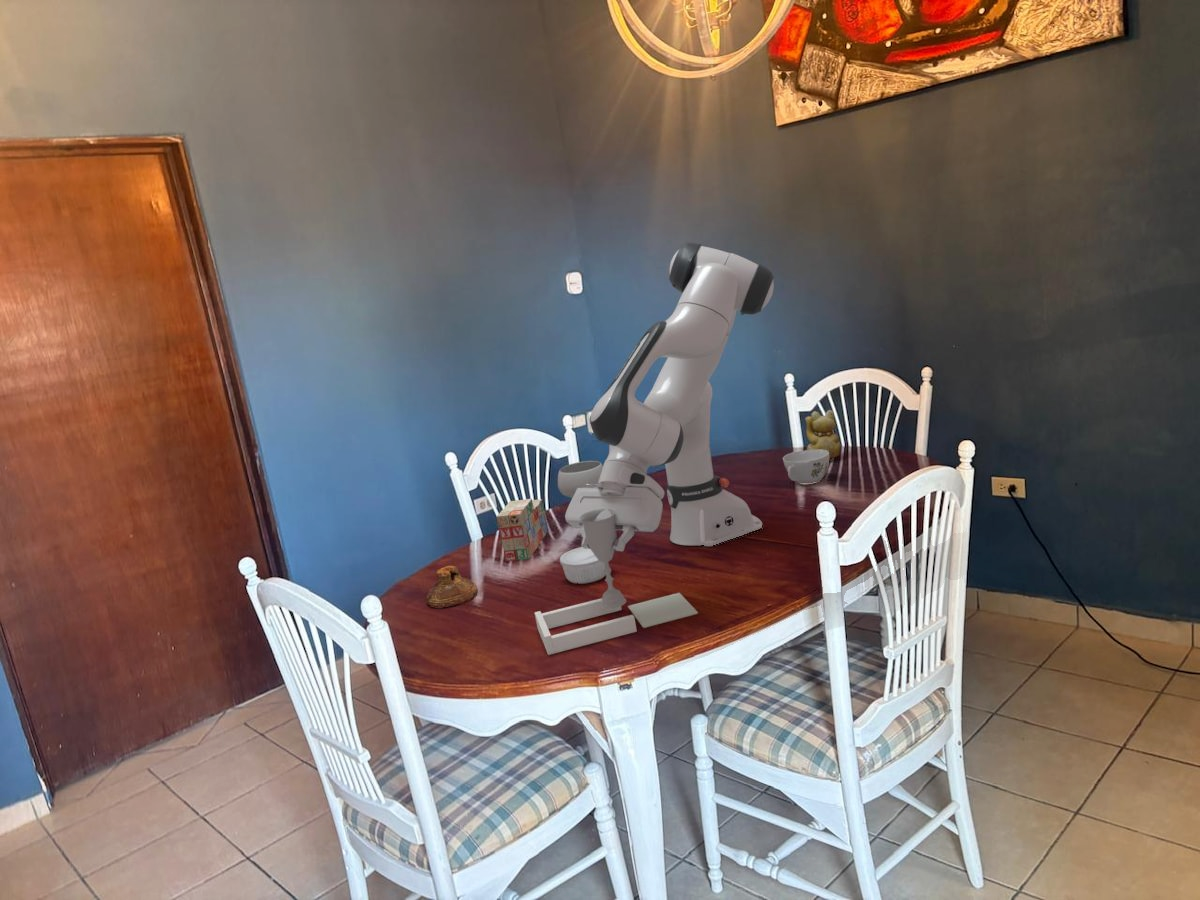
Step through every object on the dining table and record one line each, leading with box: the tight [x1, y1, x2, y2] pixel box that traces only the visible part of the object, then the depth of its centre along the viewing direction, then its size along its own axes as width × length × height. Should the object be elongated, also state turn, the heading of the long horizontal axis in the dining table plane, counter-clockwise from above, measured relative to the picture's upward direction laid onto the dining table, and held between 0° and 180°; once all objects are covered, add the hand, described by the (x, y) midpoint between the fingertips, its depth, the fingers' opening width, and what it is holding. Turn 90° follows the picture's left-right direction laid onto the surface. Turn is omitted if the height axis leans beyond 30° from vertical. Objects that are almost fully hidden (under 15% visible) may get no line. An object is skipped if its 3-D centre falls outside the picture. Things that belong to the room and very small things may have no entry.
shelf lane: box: [534, 597, 638, 656], centre depth 157 cm, size 17×12×4 cm
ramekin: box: [559, 546, 606, 585], centre depth 185 cm, size 11×11×5 cm
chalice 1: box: [557, 460, 604, 499], centre depth 227 cm, size 14×14×15 cm
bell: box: [426, 565, 479, 607], centre depth 186 cm, size 12×12×7 cm
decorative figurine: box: [804, 409, 842, 461], centre depth 243 cm, size 10×8×15 cm
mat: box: [627, 592, 699, 629], centre depth 161 cm, size 11×11×1 cm
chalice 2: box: [580, 509, 627, 609], centre depth 156 cm, size 7×7×18 cm
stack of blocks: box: [496, 498, 549, 562], centre depth 213 cm, size 21×6×12 cm, turn 170°
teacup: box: [782, 449, 830, 484], centre depth 225 cm, size 15×12×8 cm
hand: (601, 548), depth 155 cm, fingers closed on chalice 2, 6 cm apart
